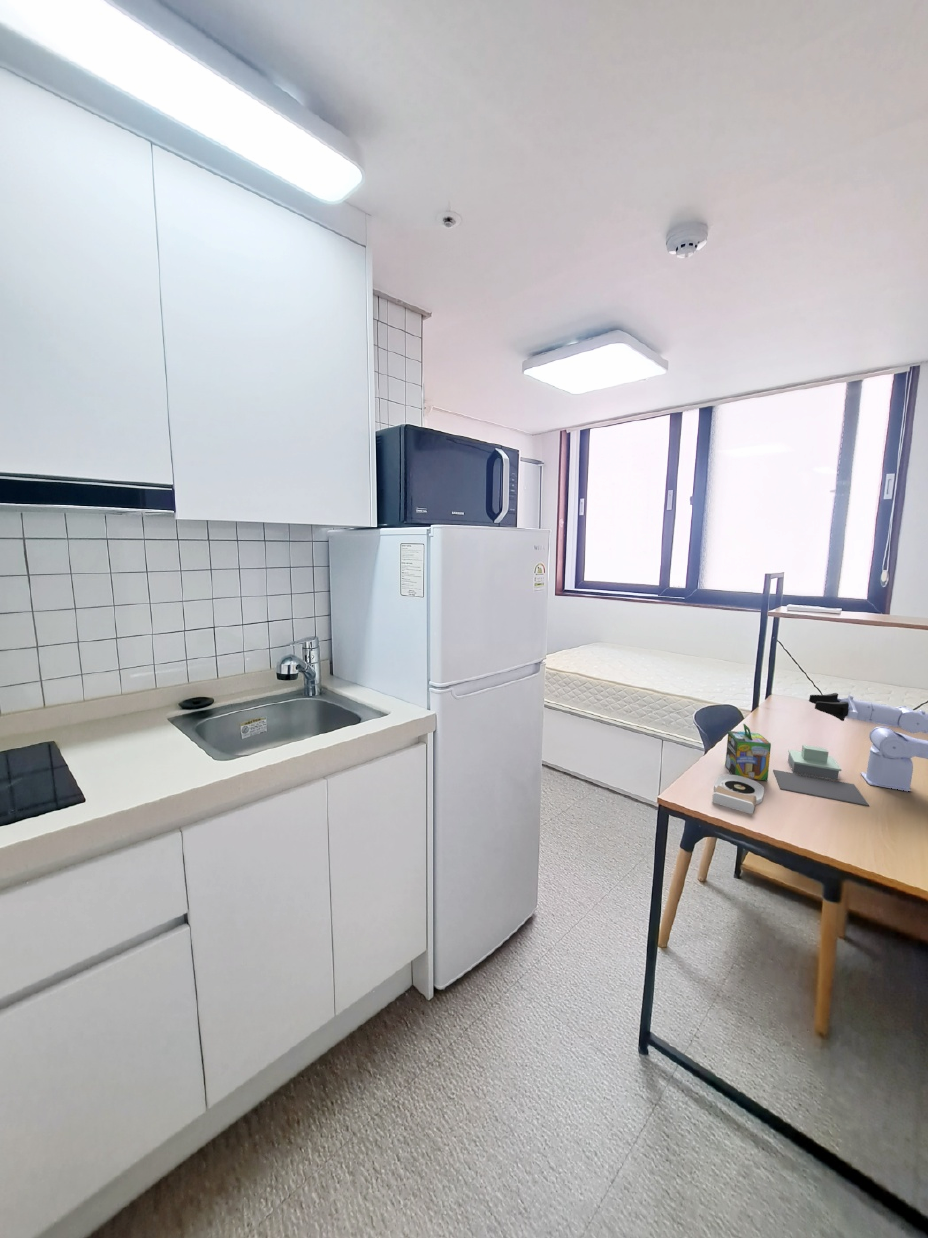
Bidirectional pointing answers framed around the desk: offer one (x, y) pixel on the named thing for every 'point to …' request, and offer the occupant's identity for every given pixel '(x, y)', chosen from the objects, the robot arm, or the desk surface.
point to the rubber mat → (819, 787)
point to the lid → (814, 758)
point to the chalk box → (748, 754)
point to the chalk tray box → (813, 770)
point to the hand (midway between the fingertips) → (812, 701)
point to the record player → (737, 792)
